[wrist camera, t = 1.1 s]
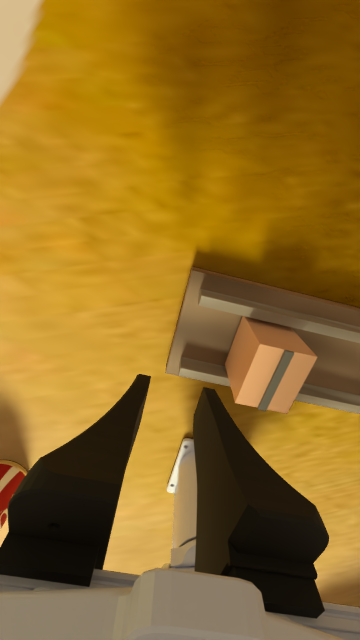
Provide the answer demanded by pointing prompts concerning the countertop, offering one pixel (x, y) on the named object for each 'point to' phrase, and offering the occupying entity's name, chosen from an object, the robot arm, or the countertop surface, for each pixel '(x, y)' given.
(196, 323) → the fader board
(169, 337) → the countertop surface
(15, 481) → the soda can
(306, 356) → the fader knob
